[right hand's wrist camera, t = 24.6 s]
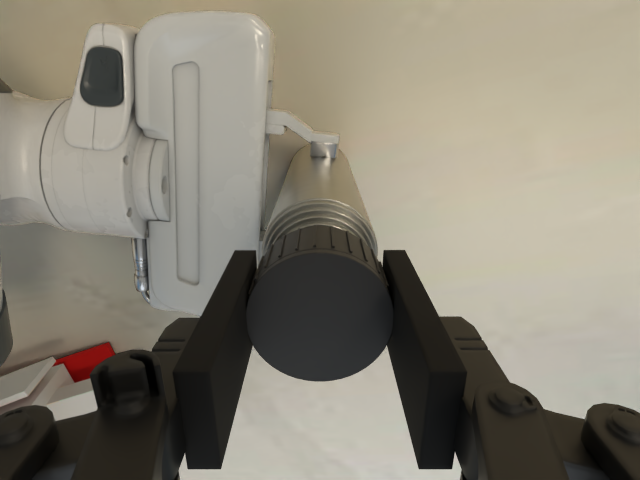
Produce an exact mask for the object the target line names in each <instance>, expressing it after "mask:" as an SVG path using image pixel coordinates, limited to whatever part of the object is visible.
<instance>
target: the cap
mask: <svg viewBox="0 0 640 480" xmlns="http://www.w3.org/2000/svg"><path fill="white" fill-rule="evenodd" d="M388 288H389V285H388V282H387V279H386V276H385V273H384V270H383V267H382V264H381V262H379V261H378V259H377V257H376V256H375V253H374V250H373V249H370V247H369V246H368V245H367V244H366V243H365V242H363V239H361V238H360V239H359V238H358V237H357V236H355V235H353V234H351V233H349V231H344V230H342V229H338V228H334V227H333V226H331V227H328V226H317V225H314V226H312V227H306V228H302V229H300V228H298V230H295V231H293V232H290V233H289V234H287V235H285V234H284V235H283V237H282V238H280V239H279V240H278V241H276V242H275V243H274V244H271V246H270V248H269V250H268V251H267V252H266V254H265V255H264V256H262V257H261V260H260V263H259V266H258V269H256V272H255V275H254V278H253V281H252V284H251V286H250V289H249V292H248V296H249V298H248V302H247V306H246V319H247V331H248V335H249V338H250V340H251V342H252V344H253V346H254V348H255V349H256V351H257V352H258V353H259V355H260V356H261V357H262V358H263V359H264V360H265V361H266V362H267V363H269V364H270V365H271V366H272V367H274V368H275V369H277V370H279V371H280V372H282V373H284V374H287V375H289V376H292V377H295V378H298V379H302V380H308V381H332V380H337V379H342V378H345V377H348V376H351V375H353V374H355V373H358V372H359V371H361V370H363V369H364V368H366V367H367V366H369V365H370V364H371V363H372V362H374V361H375V360H376V359H377V358H378V357H379V355H380V354H381V353H382V352H383V350H384V349H385V347H386V345H387V344H388V342H389V339H390V337H391V334H392V328H393V315H394V307H393V303H392V299H391V296H390V293H389V290H388Z"/></svg>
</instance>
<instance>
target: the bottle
mask: <svg viewBox="0 0 640 480" xmlns="http://www.w3.org/2000/svg"><path fill="white" fill-rule="evenodd" d="M310 150H311V144H308V145H306V146H304V147H303V148H301V149H300V150H299V151H298V152H297V153H296V154H295V156H294V157H293V159H292V161H291V164H290V167H289V170H288V172H287V175H286V178H285V180H284V183H283V186H282V189H281V191H280V194H279V197H278V199H277V202H276V205H275V208H274V210H273V213H272V216H271V218H270V221H269V224H268V226H267V229H266V232H265V235H264V238H263V243H262V256H264V255H265V254H266V252H267V251H268V250H269V248H270V246H271V244H274V243H275V242H276V241H278V240H279V239H280V238H282V237H283V235H284V234H285V235H287V234H289V233H290V232H293V231H295V230H298V228H300V229H302V228H306V227H312V226H314V225H317V226H328V227H331V226H333V227H334V228H338V229H342V230H344V231H349V233H351V234H353V235H355V236H357V237H358V238H359V239H360V238H361V239H363V242H365V243H366V244H367V245H368V246H369V247H370V249H373V250H374V253H375V256H376V257H377V255H378V247H377V240H376V237H375V234H374V231H373V228H372V225H371V223H370V220H369V217H368V215H367V212H366V209H365V206H364V204H363V201H362V198H361V196H360V193H359V190H358V187H357V185H356V182H355V179H354V177H353V174H352V171H351V168H350V166H349V163H348V161H347V158H346V157H345V155H344V154H343V153H342V152H341V151H340V150H339V149H338V153H337V158H335V159H331V158H326V157H325V156H324V155H323V156H322V157H313V156H310Z"/></svg>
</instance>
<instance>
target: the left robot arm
mask: <svg viewBox="0 0 640 480" xmlns="http://www.w3.org/2000/svg"><path fill="white" fill-rule="evenodd" d="M274 54H275V35H274V33H273V31H272V30H271V28H270V27H269V25H268V24H267V23H266V22H265V21H264V20H263V19H262V18H261V17H259V16H258V15H255V14H251V13H244V12H232V11H186V12H173V13H166V14H162V15H159V16H156V17H154V18H152V19H150V20H148V21H147V22H146V23H145V24H144V25H143V26H142V27H141V29H140V28H137V27H133V26H129V25H124V24H117V23H97V24H94V25H92V26H91V27H90V28H89V30H88V32H87V35H86V38H85V42H84V47H83V52H82V57H81V62H80V66H79V71H78V75H77V80H76V84H75V88H74V92H73V96H72V97H68V98H61V99H55V100H40V99H36V98H33V97H30V96H28V95H26V94H23V93H20V92H17V91H13V90H12V89H11V88H10V87H9V86H8V85H7V84H6V83H5V82H4V81H3V80H1V79H0V225H10V226H16V225H24V224H29V223H45V224H49V225H51V226H54V227H56V228H59V229H62V230H65V231H70V232H79V233H89V234H99V235H110V236H120V237H131V242H132V254H133V260H134V265H135V274H134V283H135V287H136V290H137V291H139V292H141V293H142V296H143V297H144V299H145V300H146V301H147V302H148V303H149V304H150V305H151V306H152V307H153V308H156V309H159V310H169V311H181V312H185V313H189V314H193V315H197V316H201V315H202V313H203V311H204V309H205V307H206V305H207V303H208V301H209V300H210V298H211V296H212V294H213V292H214V290H215V288H216V286H217V284H218V282H219V280H220V278H221V276H222V274H223V272H224V270H225V268H226V266H227V264H228V262H229V261H230V259H231V257H232V255H233V253H234V251H235V250H256V257H257V269H258V266H259V263H260V260H261V257H262V243H263V238H264V235H265V232H266V231H264V223H265V207H266V190H267V173H268V156H269V139H270V134H277V135H283V134H284V133H285V131H286V130H287V127H288V128H289V129H291V130H292V131H294V132H295V133H296V134H298V135H299V136H301V137H302V138H303V139H305V140H306V141H308V142H309V143H311V150H310V156H313V157H322V156H323V155H324V156H325V157H326V158H331V159H335V158H337V153H338V145H339V137H340V135H339V134H338V133H333V132H323V131H314V130H312V128H311V127H310V126H309V125H307V124H306V123H305V122H303V121H302V120H301V119H299V118H298V117H296V116H295V115H294V114H292V113H291V112H290V111H288V110H280V109H271V105H272V88H273V71H274ZM148 290H149V294H148V293H147V291H148ZM12 345H13V339H12V333H11V327H10V321H9V315H8V308H7V302H6V296H5V292H4V290H3V288H2V275H1V257H0V366H1V365H2V364H3V363H4V361H5V360H6V359H7V357H8V356H9V354H10V352H11V349H12Z"/></svg>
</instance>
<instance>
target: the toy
mask: <svg viewBox="0 0 640 480" xmlns="http://www.w3.org/2000/svg"><path fill="white" fill-rule="evenodd" d="M113 355H116V354H115V353H114V351H113V349H112V347H111V345H110V344H109V342H108V343H105V344H102V345H99V346H96V347H93V348H90V349H87V350H84V351H81V352H78V353H75V354H72V355H69V356H66V357H63V358H60V359H57V360H55V359H54V357H50V358H48V359H45V360H42V361H40V362H37V363H35V364H32V365H30V366H27V367H25V368H22V369H19V370H17V371H14V372H12V373H9V374H7V375H4V376H2V377H0V415H2V414H3V413H5V412H7V411H10V410H13V409H16V408H19V407H23V406H31V405H39V406H45V407H47V408H48V409H50V410H51V411H52V412H53V415H54V419H55V421H58V420H62V419H66V418H71V417H75V416H79V415H84V414H87V413H90V412H94V411H96V410H97V408H98V407H97V403H96V399H95V395H94V391H93V387H92V383H91V379H90V373H91V372H92V371H93V369H94V368H95V366H97V365H98V364H99V363H101V362H102V361H104V360H105V359H107V358H109V357H111V356H113Z"/></svg>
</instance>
